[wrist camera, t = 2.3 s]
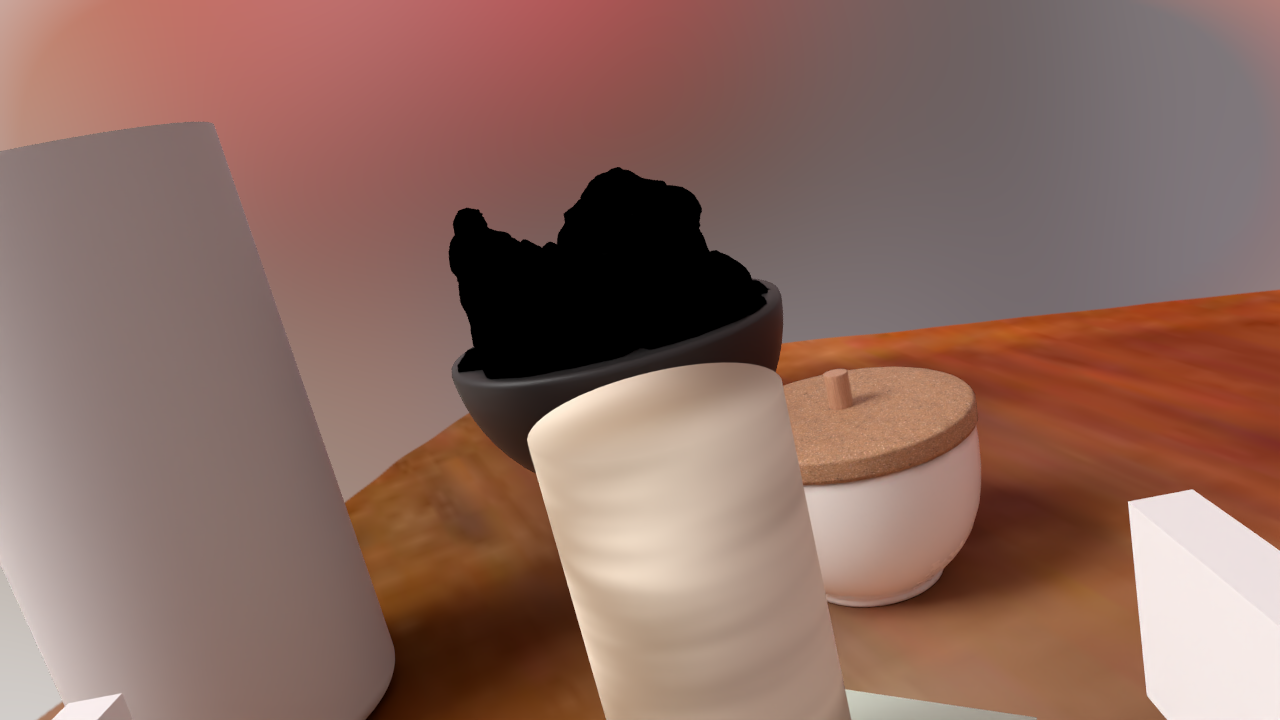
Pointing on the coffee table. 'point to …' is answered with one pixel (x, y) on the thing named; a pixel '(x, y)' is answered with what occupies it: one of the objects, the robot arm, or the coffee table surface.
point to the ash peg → (691, 547)
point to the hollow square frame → (915, 709)
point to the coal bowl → (599, 304)
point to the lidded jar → (886, 477)
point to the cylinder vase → (167, 447)
